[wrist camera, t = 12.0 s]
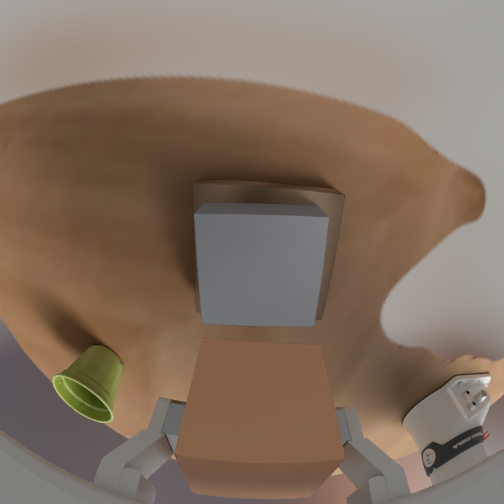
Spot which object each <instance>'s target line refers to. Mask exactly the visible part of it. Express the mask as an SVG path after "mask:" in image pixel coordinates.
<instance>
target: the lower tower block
mask: <svg viewBox="0 0 504 504" xmlns="http://www.w3.org/2000/svg"><path fill="white" fill-rule="evenodd" d="M344 197H345V195H344V194H342V193H341V192H339V191H338V190H336V189H331V188H323V187H314V186H304V185H293V184H282V183H269V182H254V181H237V180H213V179H200V180H199V181H197V182H196V183H194V184H193V244H194V276H195V298H196V312H199V313H201V303H200V293H199V281H198V268H197V254H196V238H195V219H194V214H195V213H196V211H197V210H198V209H199V208H200V207H201V206H202V205H203V204H204V203H258V204H290V205H312V206H319V207H320V208H321V209H322V210H323V211H324V213H325V214H326V215H327V216H328V217H329V220H328V230H327V239H326V248H325V256H324V264H323V271H322V279H321V285H320V292H319V299H318V305H317V311H316V317H315V320H321V319H322V315H323V311H324V307H325V302H326V298H327V293H328V289H329V284H330V279H331V274H332V269H333V264H334V259H335V253H336V248H337V242H338V236H339V230H340V224H341V218H342V211H343V204H344Z"/></svg>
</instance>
